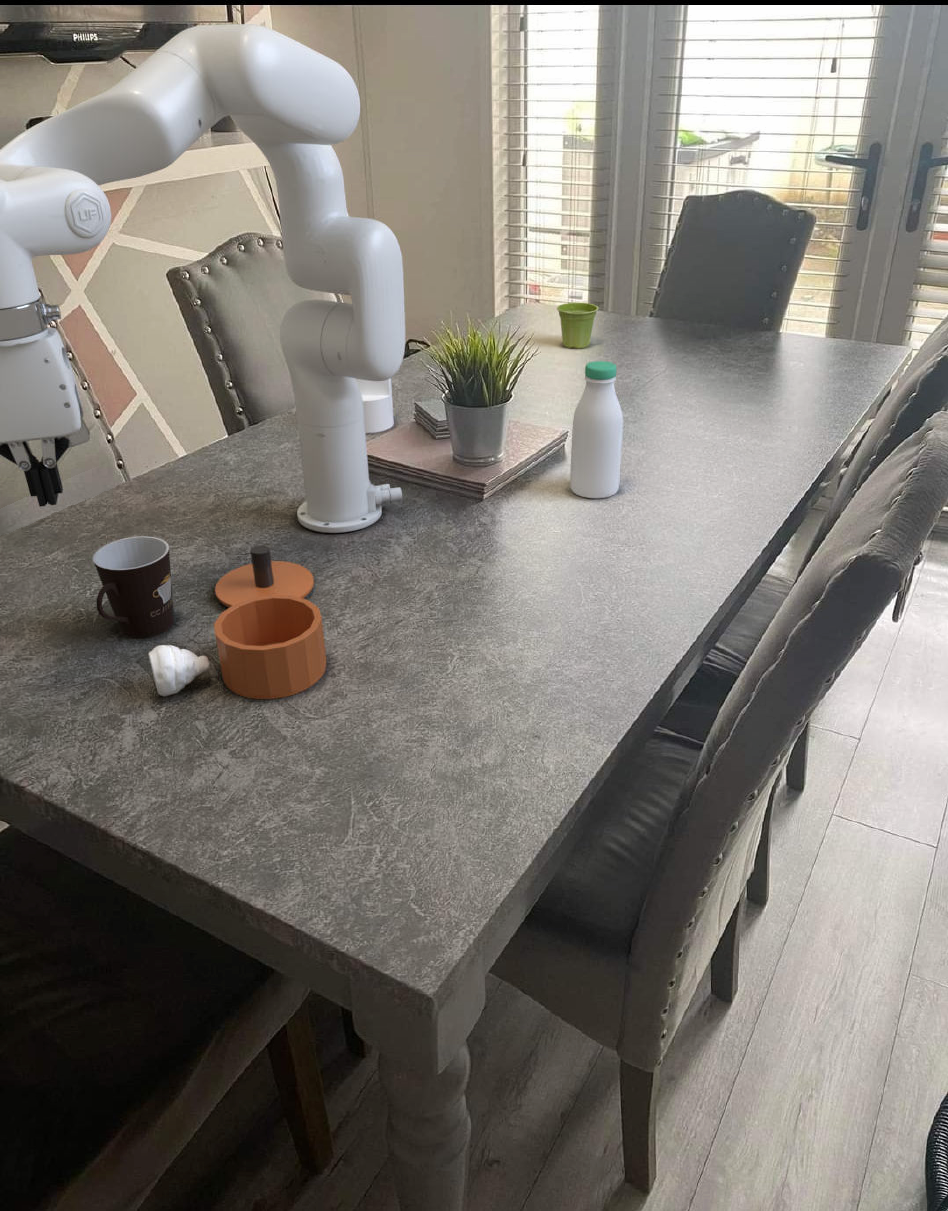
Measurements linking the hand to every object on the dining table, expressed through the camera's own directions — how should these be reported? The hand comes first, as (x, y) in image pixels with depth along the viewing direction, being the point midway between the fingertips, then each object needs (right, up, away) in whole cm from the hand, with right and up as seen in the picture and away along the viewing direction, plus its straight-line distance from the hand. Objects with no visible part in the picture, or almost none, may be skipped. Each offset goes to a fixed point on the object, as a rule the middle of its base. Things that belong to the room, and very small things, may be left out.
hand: (49, 500), depth 100 cm
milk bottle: (+63, +7, +52) cm, 82 cm away
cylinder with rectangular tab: (+25, +23, +80) cm, 86 cm away
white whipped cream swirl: (+12, -20, +8) cm, 25 cm away
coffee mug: (+3, -14, +18) cm, 23 cm away
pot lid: (+17, -9, +26) cm, 32 cm away
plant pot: (+68, +49, +124) cm, 149 cm away
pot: (+21, -18, +10) cm, 30 cm away
